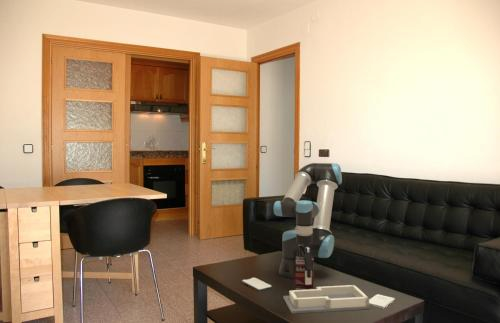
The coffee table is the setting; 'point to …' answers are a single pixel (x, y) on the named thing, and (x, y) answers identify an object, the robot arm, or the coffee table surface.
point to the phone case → (257, 284)
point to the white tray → (326, 299)
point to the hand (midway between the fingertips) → (304, 279)
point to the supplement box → (302, 274)
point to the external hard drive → (380, 301)
